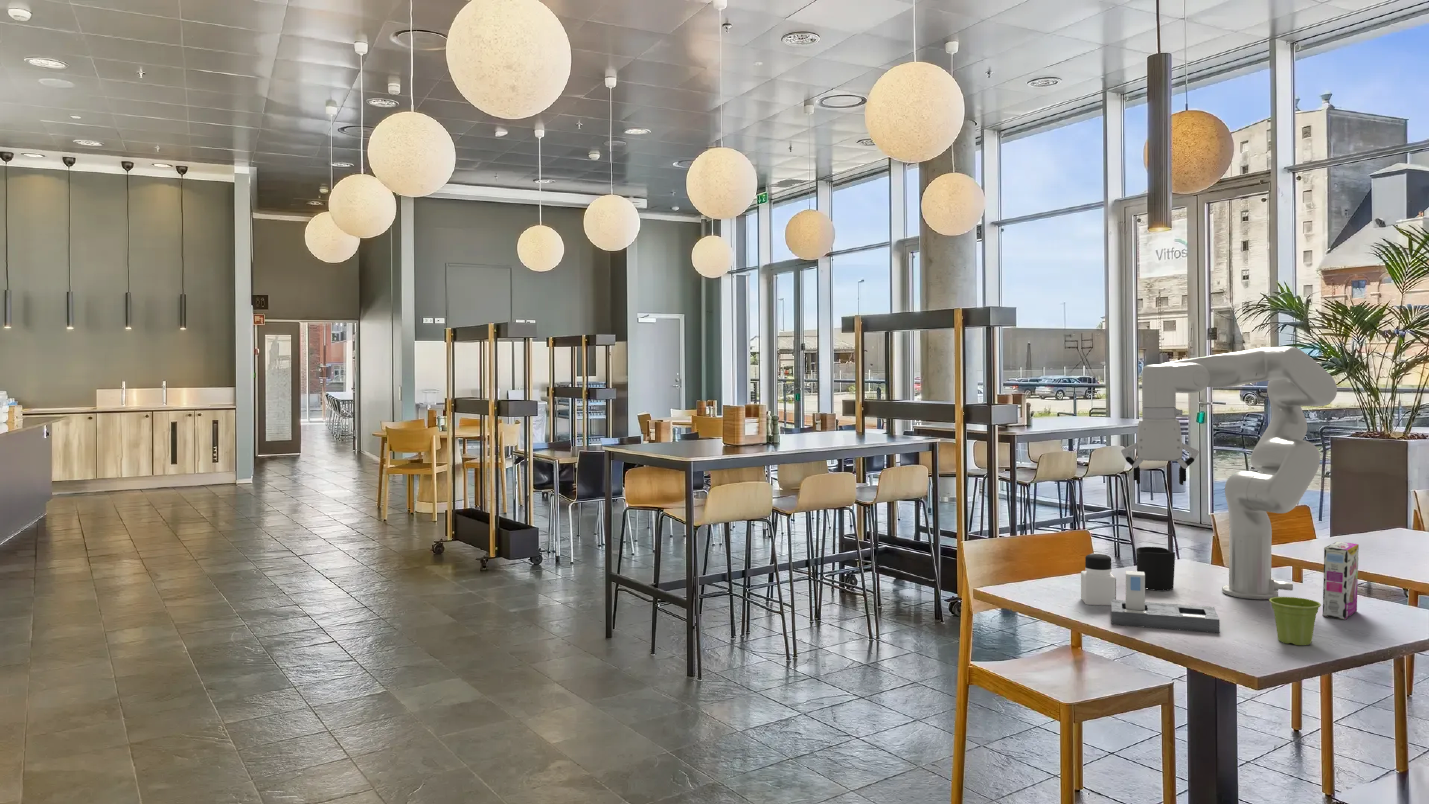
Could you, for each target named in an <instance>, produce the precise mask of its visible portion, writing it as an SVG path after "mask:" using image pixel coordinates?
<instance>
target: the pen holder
mask: <svg viewBox="0 0 1429 804" xmlns="http://www.w3.org/2000/svg"><path fill="white" fill-rule="evenodd" d="M1135 553H1136V554H1135V555H1136V556H1135V557H1136V571H1138V572H1144V573H1145V588H1148V589H1154V590H1153V591H1157V590H1166V591H1171V590H1173V588H1174V583H1175V565H1176V563H1175V562H1176V561H1175V560H1176V552H1174V551H1173V552H1172V551H1170V549H1168V548H1165V547H1161V546H1160V547H1159V546H1141V547H1139V546H1138V547H1136V550H1135ZM1148 589H1147V590H1148ZM1170 589H1171V590H1170Z"/></svg>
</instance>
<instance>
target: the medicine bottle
mask: <svg viewBox="0 0 1429 804" xmlns="http://www.w3.org/2000/svg"><path fill="white" fill-rule="evenodd" d="M1084 558H1085V562H1084V564H1085V567H1084V568H1085V569H1084V570H1082V571H1080V599H1081V600H1082V601H1083V602H1084V604H1085V605H1086V606H1109V607H1111V599H1113V600H1117V577H1115V576H1114V575H1113V573H1112V557H1111V556H1110V555H1108V554H1104V553H1088V554H1087V555H1086V556H1085V557H1084Z"/></svg>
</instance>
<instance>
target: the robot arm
mask: <svg viewBox="0 0 1429 804" xmlns="http://www.w3.org/2000/svg"><path fill="white" fill-rule="evenodd" d="M1266 381H1268V383H1267V387H1266V391H1267V392H1266V393H1267V396H1268V399H1269V403H1270V407H1271V419H1270V422H1269V423H1268V425H1267V428H1266V429H1265V431H1264V433H1262V435H1261V437H1260V439H1259V440H1258V442H1257V443H1256V445H1255V447H1254V449H1253V450H1252V453H1251V455H1250V462H1251V466H1252V467H1253V469H1255V470H1256V471H1251V470H1242V471H1240V470H1239V471H1237V472H1235V473H1233V474H1231V475H1230V476H1228V478H1227V480H1226V482H1225V485H1224V494H1225V499H1226V504H1227V509H1228V522H1229V523H1228V524H1229V525H1228V526H1229V527H1228V529H1229V530H1228V532H1229V533H1228V534H1229V535H1228V536H1229V537H1228V540H1229V542H1228V584H1226V585H1223V586H1222V588H1221V591H1222V593H1224V594H1225V595H1228V596H1232V597H1235V598H1239V599H1247V600H1249V599H1250V600H1269V599H1270V598H1273V597H1279V590H1282V591H1283V590H1284V591H1293V590H1294V585H1293V582H1286V581H1282V580H1281V581H1278V580H1275V579H1274V578H1273V577H1272V541H1273V540H1272V539H1273V538H1272V535H1273V530H1272V528H1273V527H1272V522H1271V520H1270V517H1269V515H1268V512H1269V513H1274V514H1275V513H1276V514H1286V513H1289V512H1290V511H1292V510H1294V509H1295V508H1296V506H1297V505H1298V504H1299V502H1300V501H1301V499H1302V498H1303V496H1304V495H1305V493H1306V491H1307V490H1308V488H1309V486H1310V485H1311V482H1312V481H1313V480H1314V478H1315V477H1316V475H1317V473H1318V470H1319V467H1320V464H1321V463H1320V461H1321V456H1320V452H1319V449H1318V448H1317V447H1316V445H1315V444H1314V443H1312V442H1310V441H1308V440H1305V437H1306V435H1307V432H1308V423H1307V422H1308V421H1307V418H1306V417H1305V413H1304V411H1303V409H1302V407H1324V406H1327V405H1329V404H1331V403H1333V401H1334V400H1335V399H1336V397H1337V393H1338V385H1337V383H1336V381H1335V379H1334V377H1333V376H1332V375H1331V374H1330V373H1329V372H1328V371H1327V370H1325V369H1324V367H1323V366H1321V365H1320V364H1319V363H1318V362H1317V361H1315V360H1314V359H1313V358H1312V357H1311V356H1310V355H1308V354H1307V353H1306V352H1304V351H1303V350H1301V349H1300V348H1297V347H1295V346H1272V347H1271V346H1265V347H1258V348H1253V349H1246V350H1240V351H1232V352H1227V353H1220V354H1213V355H1208V356H1202V357H1194V358H1188V359H1187V358H1186V359H1179V360H1173V361H1167V362H1162V363H1159V364H1147V365H1145V366H1143V367H1142V370H1141V397H1142V398H1141V401H1142V402H1141V403H1142V406H1141V407H1142V411H1141V415H1142V417H1141V418H1142V419H1139V420H1138V423H1137V430H1136V442H1134V443H1133V444H1131V445H1129V446H1126V447H1124V448H1122V449H1121V450H1120V451H1121V452H1120V453H1121V454H1122V456H1123V457H1124V460H1126V462H1127V463H1128V464H1129V465H1130V466H1132V467H1133V481H1136V484H1137V485H1140V484H1141V467H1140V465H1141V464H1142V463H1143V462H1144V461H1156V462H1158V461H1159V462H1165V461H1166V462H1168V461H1169V462H1177V463H1178V464H1179V467H1178V483H1179V485H1180V486H1183V485H1184V482H1187V469H1188V467H1189V466H1191V464H1193V463H1194V462H1195V459H1196V458H1197V457H1198V454H1199V449H1196V448H1194V447H1192V446H1190V445H1188V444H1185V443H1184V442H1183V438H1182V437H1183V436H1182V431H1181V428H1182V427H1181V424H1180V420H1179V419H1177V417H1179V416H1183V409H1178V408H1177V402H1176V401H1177V397H1176V394H1197V393H1199V392H1202V391H1204V390H1206V388H1230V387H1231V388H1232V387H1237V386H1242V385H1247V384H1254V383H1261V382H1266ZM1135 450H1136V455H1137V458H1136V459H1135V460H1134V459H1133V458H1132V457H1131V456H1130V454H1129V453H1130V452H1132V451H1135ZM1183 450H1185V451H1187V452H1189V453H1190V455H1189V457H1188V458H1187V459H1185V460H1183V459H1182V457H1183Z"/></svg>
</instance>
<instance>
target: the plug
mask: <svg viewBox="0 0 1429 804" xmlns="http://www.w3.org/2000/svg"><path fill="white" fill-rule="evenodd" d="M1125 600H1126V609H1132V610H1145V602H1146V589H1145V573H1144V572H1138V571H1137V570H1136V571H1135V570H1125Z"/></svg>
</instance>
